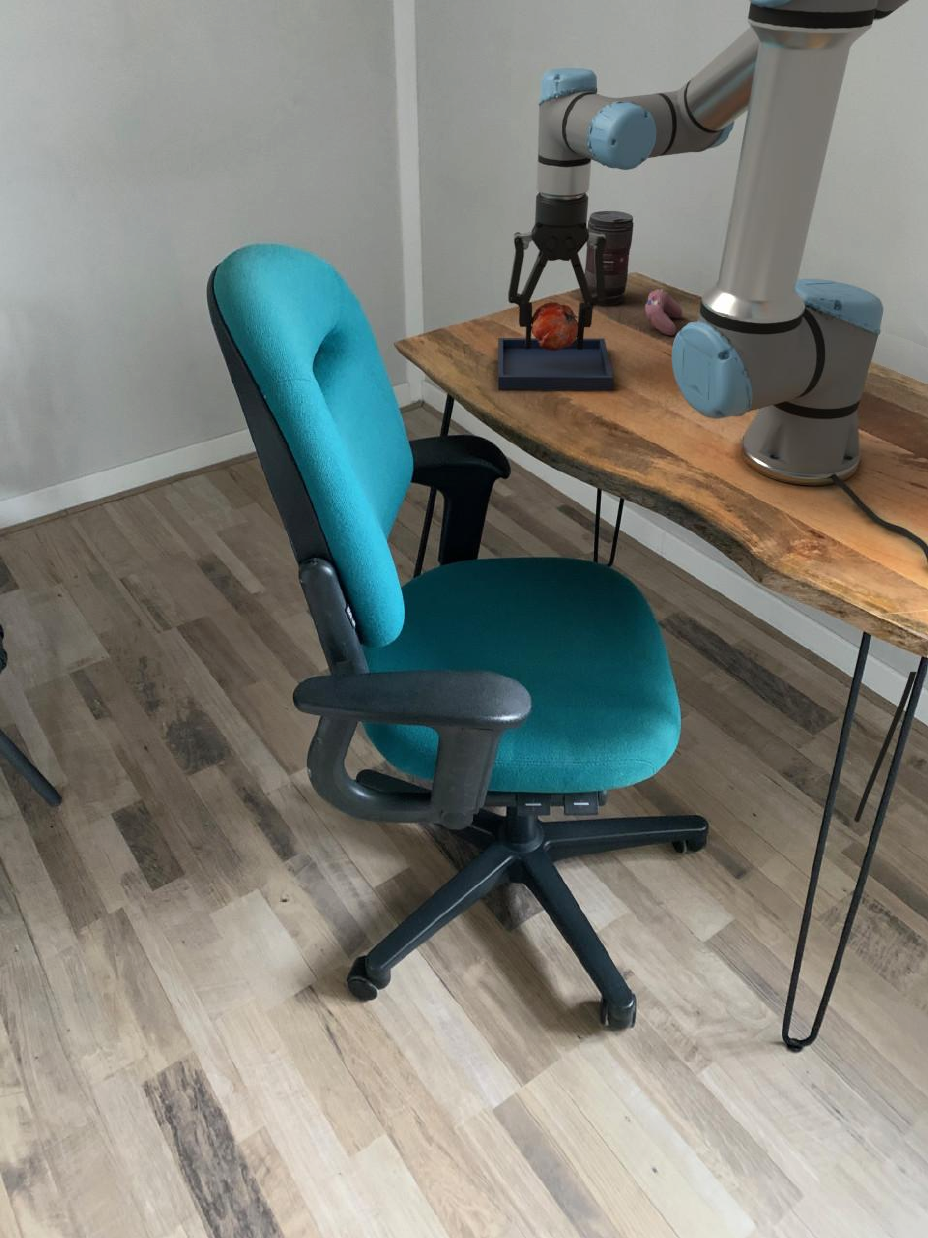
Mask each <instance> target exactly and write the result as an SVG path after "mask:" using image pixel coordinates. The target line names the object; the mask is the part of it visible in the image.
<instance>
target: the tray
mask: <svg viewBox="0 0 928 1238" xmlns="http://www.w3.org/2000/svg"><path fill="white" fill-rule="evenodd" d="M497 339H498V340H497V390H499V391H500V390H504V391H505V390H507V391H508V390H511V391H512V390H513V391H524V390H525V391H527V390H528V391H613V386H614V385H613V384H614V374H613V370H612V366H611V362H610V361H611V360H610V357H609V353H608V348H607V344H606V340H605V338H584V337H583V349H582V350H578V349H577V338H576V340H575V341H574V342H573V343H572V344H571V345H570V346H569V347H566V348H561V349H559V350H557V351H550V350H546V349H544V348H542V347H541V346H540V344H539V342H538V341H537V340H536V338H535V337H531V349H526V345H525V340H526V337H498V338H497Z"/></svg>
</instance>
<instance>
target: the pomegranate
mask: <svg viewBox="0 0 928 1238" xmlns="http://www.w3.org/2000/svg"><path fill="white" fill-rule="evenodd" d="M578 332H579V327H578V316H577V315H576V314H575V312H574V310H573V309H572V307H570V305H566V304H560V303H558V302H556V301H549V302H546V303H544V304H542V305H539V307H538V308H536V310H535V312H534V313H533V314H532V326H531V334H532V335H533V337H534V338H536V340H537V341H538V342H539V344H540V346H541V347H542V348H544V349H546V350H550V351H557V350H559V349H561V348H566V347H569V346H570V345H571V344H572V343H573V342H574V341H575V340H576V338H577V336H578Z"/></svg>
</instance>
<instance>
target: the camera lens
mask: <svg viewBox="0 0 928 1238" xmlns="http://www.w3.org/2000/svg"><path fill="white" fill-rule="evenodd" d="M634 225H635V223H634V216H633V215H632V214H630V213H628V212H624V211H618V210H600V211H595V212H592V213H590V214H589V219H588V220H587V229H588V231H589V232H590V233H595V234H599V233H604V234H605V237H606V245H605V249H604V252H603V263H604V281H605V299H606V300H605V303H603V304H597V305H596V306H603V307H605V306H607V307H608V306H614V305H617V304H619V303H621V302H622V300H623V295H624V293H625V292H626V287H627V283H628V275H629V263H630V253H631V247H632V243H633V234H634ZM585 255H586V256H585V267H584V274H585V277H586V280H587V283H588V287H589V290H590V293H591V295H592V294H595V293H596V282H595V265H594V250H593V249H591V246H590V242H589V241H587V242H586V254H585Z"/></svg>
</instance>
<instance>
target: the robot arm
mask: <svg viewBox="0 0 928 1238" xmlns="http://www.w3.org/2000/svg"><path fill="white" fill-rule="evenodd" d="M748 1H749V2H750V4H749V10H748V15H747V23H748V25H749V28H747V29H746V30H745V31H744V32H743V33H742V34H740V35H739V36H738V37H737V38H736V39H735V40H734V41H732V42H731V44H729V45H728V46H727V47H726V48H725V49H724V50H722V52H720V53H719V54H718V55H717V56H716V57H714V58H713V60H711V61H710V62H709V63H708V64H707V65H706V66H705V67H704V68H702V69H701V70H700V71H699V72H698V73H697V74H696V75H694V77H691V79H689V81H687V82H686V83H685V84H684V85H682V87H680V88H679V89H677V90H672V91H664V92H657V93H651V94H643V95H642V94H640V95H632V96H623V97H610V96H605V95H601V94H600V93H598V81H597V79H598V78H597V74H596V73H595V72H594V71H593V70H591V69H588V68H581V67H559V68H552V69H549V70H546V72H545V73H544V74H543V75H542V78H541V86H540V98H539V101H538V137H537V138H538V139H537V140H538V141H537V142H538V143H537V163H536V164H537V167H536V191H538V193H537V194H536V197H535V213H534V216H535V217H534V225H533V227H532V230H531V231H530V232H524V233H521V232H518V231H517V232H515V233H514V235H513V243H514V249H515V251H514V256H513V257H514V258H513V263H512V269H511V275H510V280H509V287H508V293H507V299H508V302H509V304H515V305H517V306H518V307H519V310H518V325H519V327H520V328H525V338H526V340H525V345H526V349H531V338H532V329H531V327H532V316H533V301H532V302H531V298H532V296H533V294H534V292H535V289H536V288H537V285H538V283H539V281H540V278H541V277H542V274H543V272H544V269H545V268H546V266H547V264H548V262H555V261H558V260H559V261H563V262H570V263H571V267H572V268H573V272H574V275H575V278H576V281H577V284H578V287H579V290H580V293H581V296H582V299H583V302H579V303H578V316H577V317H578V318H577V322H578V327H579V332H578V336H577V349H578V350H582V349H583V338H584V336H585V328H591V326H592V322H593V312H594V311H593V309H594V307H595V306H598V305H597V304H603V303H605V300H606V299H605V281H604V263H603V252H604V249H605V245H606V237H605V234H604V233H599V234H595V233H590V232H589V231H588V209H589V196H588V194H587V193H588V191H589V190H590V181H591V169H592V168H591V167H592V161H594V162H596V163H598V164H600V165H601V166H603V167H607V168H609V169H617V170H622V171H629V170H634V169H635V168H638V166H640V165H641V164H642V163H643V162H646V161H647V160H648V159H653V158H658V157H665V156H672V155H680V154H689V153H702V152H705V151H707V150H709V149H714V148H718V147H719V146H722V145H723V144H725V142H726V141H727V140H728V139H729V135H730V133H731V132H732V130H733V129H734V126H735V120H737V119H738V118H740V117H742V115H744V114H745V113H746V112H747V113H746V119H745V125H744V129H743V130H744V131H743V135H742V141H741V148H740V152H739V153H740V154H739V158H738V165H737V170H736V176H735V181H734V188H733V193H732V198H731V204H730V210H729V216H728V222H727V227H726V233H725V238H724V246H723V251H722V255H721V262H720V267H719V272H718V273H719V274H718V279H717V280H716V282H715V283H713V284H712V285H710V286H709V287H708V288H707V289H705V290H704V291H703V293H702V295H701V299H700V305H699V311H698V317H697V321H689V322H688V323H687V324H686V325H685V326H683V327H682V328H681V330H679V331H677V333H676V335H675V338H674V340H673V342H672V347H671V367H672V372H673V376H674V379H675V382H676V385H677V387H678V388H679V391H680V394H681V395H682V397H683V398H684V400H685V401H686V402H687V404H688V405H689V406H690V408H692V409H693V410H694V411H695V412H697V413H698V414H699V415H702V416H704V417H705V418H708V419H715V420H716V419H719V420H720V419H725V418H729V417H742V416H744V415H745V414H747V413H751V412H753V411H756V410H757V412H756V414H755V415H754V417H753V418H752V420H751V422H750V424H749V425H748V427H747V429H746V430H745V433H744V435H743V437H742V441H741V446H740V455H741V457H742V460H743V461H744V462H745V464H747V466H749V467H750V468H751V469H752V470H754V471H756V472H758V473H760V474H761V475H763V476H766V477H768V478H770V479H773V480H776V481H779V482H783V483H789V484H793V485H794V484H795V485H799V486H800V485H802V486H825V485H832V484H836V485H837V486H838V487H839V488H840V489H841V490H842V491H843V492H844V493H845V494H846V495H847V496H848V497H849V498H850V499H851V500H852V501H853V503H855V505H857V507H858V508H859V509H860V510H861V511H862V512H863V513H864V514H865V515H866V516H867V517H868V518H869V519H870V520H872V521H873V523H875V524H877V525H878V526H880V527H882V528H885V529H887V530H889V531H894V532H896V533H899V534H900V535H902V536H904V537H906V538H907V539H909V540H910V541H912V542H913V543H915V544H916V545H917V546H919V547H920V549H921V550H922V552H923V553H924V555H925V559H926V562H927V563H928V544H927V542H925V541H924V540H923V539H922V538H921V537H919V536H917V534H914V533H913V532H912V531H910V530H909V529H907V528H905V527H902V526H900V525H897V524H894V523H891V522H888V521H887V520H884V519H882V518H881V517H879V516H878V515H877V514H876V513H875V512H874V511H872V510H871V508H870V507H868V506H867V505H866V504H865V502H863V501H862V499H861V498H859V495H857V494H856V493H855V492H854V491H853V490H852V489H851V488H850V487H849V486H848V485H847V484H846V483H845V482H844V481H845V480H848V479H849V478H850V477H853V475H854V474H855V473H856V471H857V470H858V466H859V462H860V458H861V444H860V443H861V442H860V432H859V430H860V429H859V421H858V420H859V419H858V410H859V407H860V403H861V398H862V396H863V392H864V388H865V385H866V381H867V377H868V374H869V370H870V367H871V363H872V360H873V357H874V353H875V349H876V345H877V342H878V339H879V336H880V334H881V332H882V331H881V325H882V321H883V315H884V305H883V303H882V301H881V299H880V298H879V297H878V296H877V295H876V294H874V293H872V292H871V291H868V290H866V289H864V288H861V287H859V286H855V285H852V284H848V283H844V282H841V281H835V280H830V279H822V278H800V279H798V278H799V273H800V269H801V265H802V260H803V256H804V252H805V248H806V243H807V239H808V235H809V230H810V225H811V222H812V217H813V212H814V208H815V203H816V200H817V195H818V190H819V186H820V181H821V178H822V173H823V168H824V164H825V160H826V155H827V151H828V146H829V142H830V138H831V134H832V129H833V124H834V121H835V115H836V111H837V108H838V102H839V98H840V94H841V90H842V86H843V81H844V76H845V72H846V67H847V63H848V59H849V55H850V50H851V47H852V46H853V45H854V43H855V42H856V41H858V40H859V39H860V38H861V37H862V36H863V35H865V34H866V33H867V32H868V31H869V30H871V29H872V28H873V27H872V26H873V24H874V23H873V22H875V21H880V20H883V19H885V18H887V17H889V16H890V15H891V14H892V13H894V12H896V11H897V10H898V9H899V8H901V7H902V6H903V5H905V4H906V3H908V2H909V1H910V0H748ZM587 241H589V242H590V246H591V249H593V250H594V265H595V282H596V293H595V294H592V295H591V293H590V290H589V287H588V283H587V280H586V277H585V270H584V268H583V266H582V263H581V258H580V255H579V252H580V251H581V250H582V248H583V247H584V246H585V245H586V244H587ZM531 242H533V243H534V245H535V246H536V248H537V250H538V254H537V256H536V259H535V262H534V264H533V266H532V268H531V271H530V272H529V273H530V274H529V275H528V278H527V279H526V282H525V284H524V287H523V289H522V291H521V293H519V292H518V291H519V286H520V281H521V275H522V268H523V263H524V259H525V258H524V257H525V251H526V250H528V249H529V245H530V243H531ZM917 673H918V672H917V671H910V672H909V674H908V676H907V677H908V678H907V680H906V683H905V687H904V689H903V692H902V695H901V698H900V701H899V703H898V706H897V708H896V711H895V714H894V716H893V719H892V721H891V723H890V726H889V729H888V732H887V734H886V737H885V739H884V741H883V743H882V746H881V749H880V750H879V753H878V756H877V758H876V762H875V763H874V766H873V769H872V770H871V774H870V776H869V778H868V781H867V784H866V786H865V789H864V792H863V793H862V797H861V799H860V802H859V804H858V808H857V810H856V813H855V816H854V819H853V820H854V822H855V823H860V821H861V818H862V815H863V813H864V810H865V807H866V805H867V802H868V800H869V797H870V794H871V792H872V789H873V786H874V784H875V781H876V778H877V776H878V773H879V771H880V769H881V767H882V764H883V762H884V759H885V757H886V754H887V752H888V750H889V747H890V745H891V742H892V739H893V737H894V735H895V733H896V730H897V727H898V725H899V722H900V720H901V718H902V714H903V712H904V710H905V707H906V704H907V701H908V698H909V696H910V693H911V690H912V687H913V684H914V681H915V679H916V676H917Z"/></svg>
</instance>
